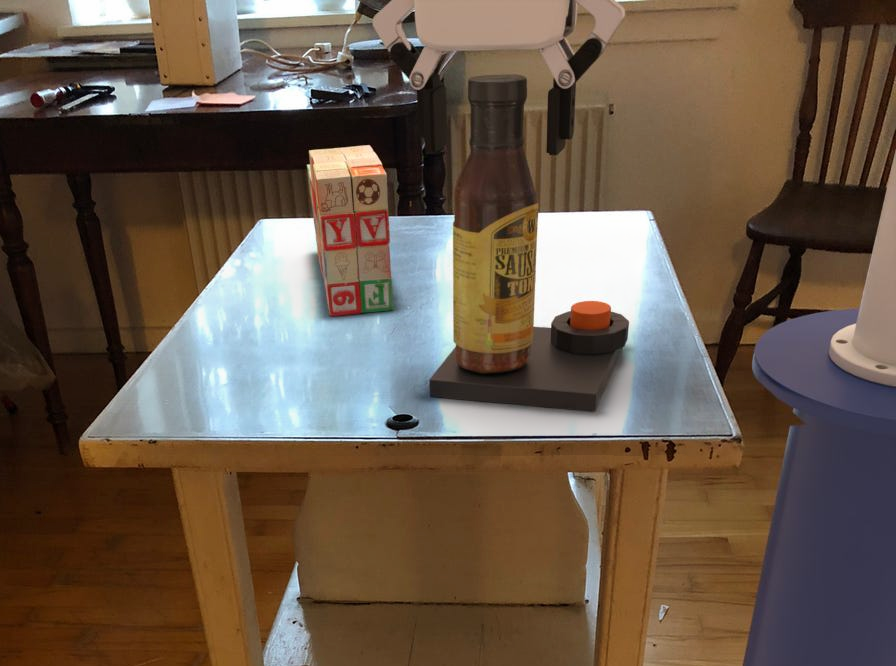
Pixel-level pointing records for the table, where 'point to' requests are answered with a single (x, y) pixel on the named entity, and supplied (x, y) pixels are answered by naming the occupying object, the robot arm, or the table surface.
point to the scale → (544, 369)
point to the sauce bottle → (494, 232)
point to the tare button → (590, 315)
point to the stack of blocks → (351, 228)
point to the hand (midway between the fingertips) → (495, 149)
